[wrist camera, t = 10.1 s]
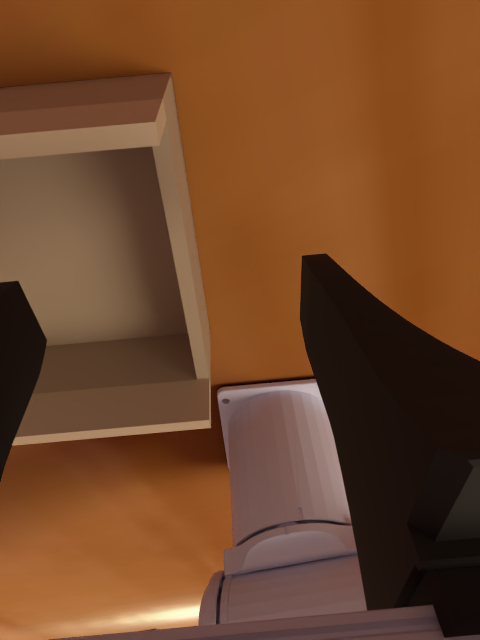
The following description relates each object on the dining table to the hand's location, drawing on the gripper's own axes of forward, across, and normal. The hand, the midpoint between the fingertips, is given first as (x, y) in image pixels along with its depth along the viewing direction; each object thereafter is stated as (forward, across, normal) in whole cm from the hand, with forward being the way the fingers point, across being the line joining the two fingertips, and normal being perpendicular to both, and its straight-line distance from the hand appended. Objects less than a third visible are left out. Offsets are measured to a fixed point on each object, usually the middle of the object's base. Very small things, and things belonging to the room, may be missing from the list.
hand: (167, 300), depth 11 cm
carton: (+9, +6, +3) cm, 12 cm away
